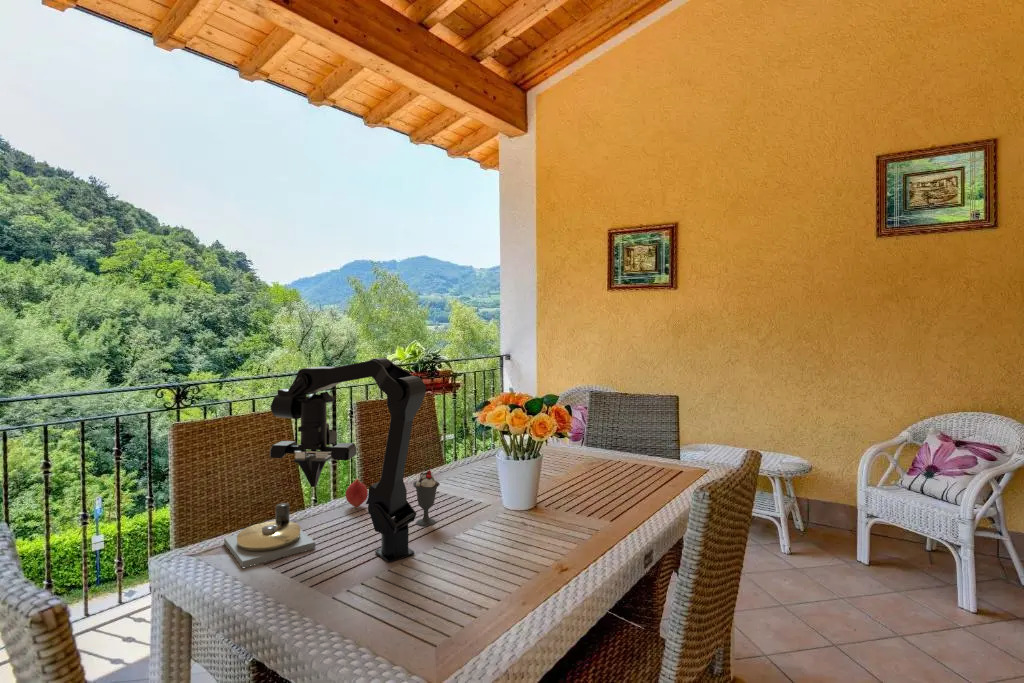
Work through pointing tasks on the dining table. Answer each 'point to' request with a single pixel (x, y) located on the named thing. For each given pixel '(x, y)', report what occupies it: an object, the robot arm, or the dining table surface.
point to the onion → (356, 493)
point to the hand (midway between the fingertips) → (313, 486)
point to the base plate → (257, 557)
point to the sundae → (426, 496)
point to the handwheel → (270, 532)
